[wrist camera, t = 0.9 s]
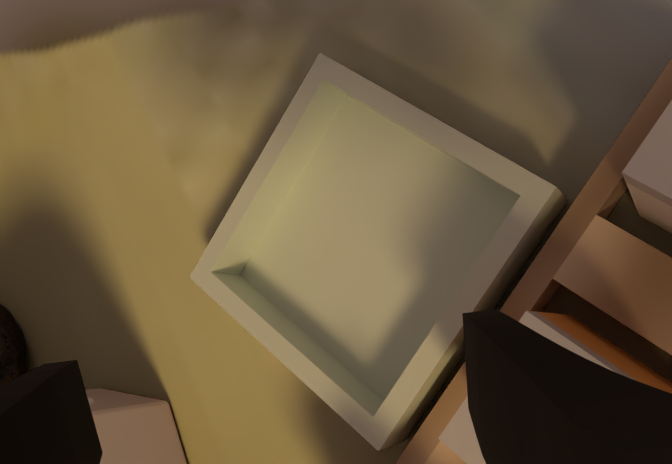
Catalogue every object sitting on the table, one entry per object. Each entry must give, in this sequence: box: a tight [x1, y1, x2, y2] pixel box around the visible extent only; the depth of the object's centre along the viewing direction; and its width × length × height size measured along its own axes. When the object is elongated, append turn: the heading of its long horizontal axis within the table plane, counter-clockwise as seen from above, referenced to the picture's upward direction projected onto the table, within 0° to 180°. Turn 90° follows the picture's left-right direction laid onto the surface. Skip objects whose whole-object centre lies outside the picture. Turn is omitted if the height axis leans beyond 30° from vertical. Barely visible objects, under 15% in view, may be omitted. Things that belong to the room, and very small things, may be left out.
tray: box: [189, 53, 568, 451], centre depth 25 cm, size 11×11×2 cm
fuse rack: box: [395, 58, 672, 464], centre depth 20 cm, size 7×23×2 cm, turn 146°
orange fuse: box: [438, 311, 672, 464], centre depth 18 cm, size 4×4×7 cm
